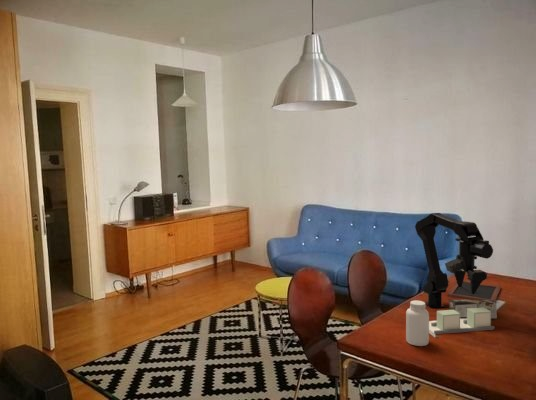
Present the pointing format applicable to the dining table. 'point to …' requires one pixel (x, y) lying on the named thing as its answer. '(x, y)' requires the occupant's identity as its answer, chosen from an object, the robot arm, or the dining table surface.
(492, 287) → the picture frame
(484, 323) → the faced box
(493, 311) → the coffee box
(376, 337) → the dining table surface
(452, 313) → the pale green box
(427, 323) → the pill bottle
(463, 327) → the shelf
